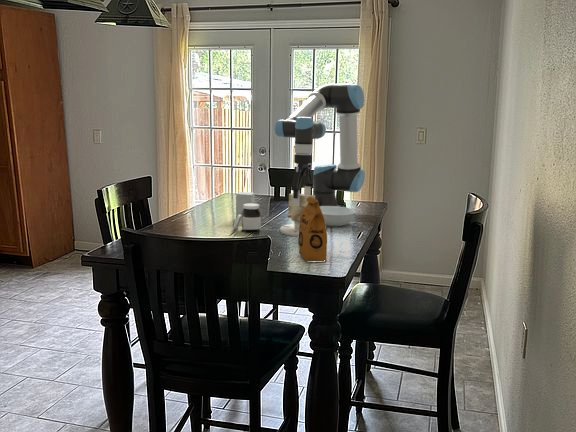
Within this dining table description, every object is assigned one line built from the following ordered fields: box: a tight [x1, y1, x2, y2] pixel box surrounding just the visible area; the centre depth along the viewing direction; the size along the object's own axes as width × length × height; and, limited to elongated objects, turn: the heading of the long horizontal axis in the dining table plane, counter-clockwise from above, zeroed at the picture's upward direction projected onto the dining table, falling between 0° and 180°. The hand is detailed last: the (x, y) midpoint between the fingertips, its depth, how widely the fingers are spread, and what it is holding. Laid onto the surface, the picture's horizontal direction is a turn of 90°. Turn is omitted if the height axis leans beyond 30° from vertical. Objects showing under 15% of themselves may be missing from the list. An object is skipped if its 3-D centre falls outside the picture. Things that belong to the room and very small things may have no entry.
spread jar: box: [232, 202, 262, 234], centre depth 248 cm, size 12×11×12 cm
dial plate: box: [279, 221, 300, 237], centre depth 249 cm, size 18×18×5 cm
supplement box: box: [235, 191, 256, 222], centre depth 270 cm, size 7×7×13 cm
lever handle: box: [286, 192, 315, 222], centre depth 247 cm, size 12×9×11 cm
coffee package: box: [297, 197, 328, 262], centre depth 206 cm, size 10×12×22 cm
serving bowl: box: [320, 205, 356, 228], centre depth 264 cm, size 21×21×7 cm
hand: (301, 203), depth 247 cm, fingers open, 13 cm apart
